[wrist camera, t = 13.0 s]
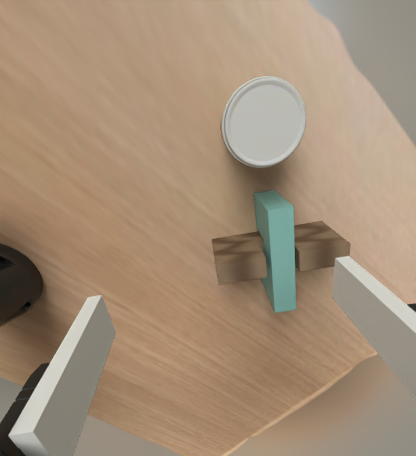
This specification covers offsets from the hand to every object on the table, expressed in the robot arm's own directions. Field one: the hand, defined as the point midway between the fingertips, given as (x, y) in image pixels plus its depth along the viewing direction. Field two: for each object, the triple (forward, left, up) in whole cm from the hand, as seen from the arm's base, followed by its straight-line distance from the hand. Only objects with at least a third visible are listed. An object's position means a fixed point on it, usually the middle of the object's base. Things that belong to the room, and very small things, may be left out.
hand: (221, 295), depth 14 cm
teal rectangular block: (+10, -12, -29) cm, 33 cm away
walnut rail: (+10, -12, -29) cm, 33 cm away
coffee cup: (+8, +8, -30) cm, 31 cm away
